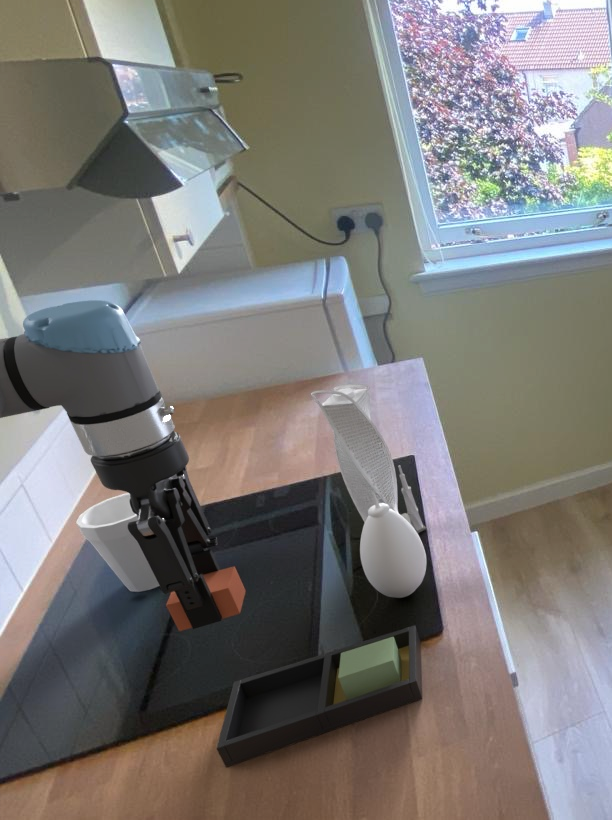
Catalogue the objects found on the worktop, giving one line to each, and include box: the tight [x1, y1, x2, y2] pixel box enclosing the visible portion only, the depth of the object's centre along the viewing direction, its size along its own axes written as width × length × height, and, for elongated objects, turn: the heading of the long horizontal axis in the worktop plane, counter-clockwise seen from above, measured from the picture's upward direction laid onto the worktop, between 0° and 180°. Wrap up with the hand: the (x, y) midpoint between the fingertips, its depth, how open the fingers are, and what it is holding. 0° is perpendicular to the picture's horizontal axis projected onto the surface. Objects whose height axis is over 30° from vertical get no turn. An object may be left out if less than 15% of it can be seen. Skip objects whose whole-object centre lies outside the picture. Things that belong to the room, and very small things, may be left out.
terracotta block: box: [165, 566, 247, 632], centre depth 88 cm, size 6×4×4 cm
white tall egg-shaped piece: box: [359, 492, 427, 599], centre depth 105 cm, size 8×8×18 cm
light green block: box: [338, 637, 401, 700], centre depth 92 cm, size 6×4×4 cm
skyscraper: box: [310, 384, 427, 535], centre depth 117 cm, size 8×8×28 cm
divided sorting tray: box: [215, 625, 423, 768], centre depth 91 cm, size 20×11×3 cm, turn 116°
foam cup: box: [75, 492, 160, 593], centre depth 111 cm, size 10×9×13 cm
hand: (211, 609), depth 89 cm, fingers closed on terracotta block, 4 cm apart
